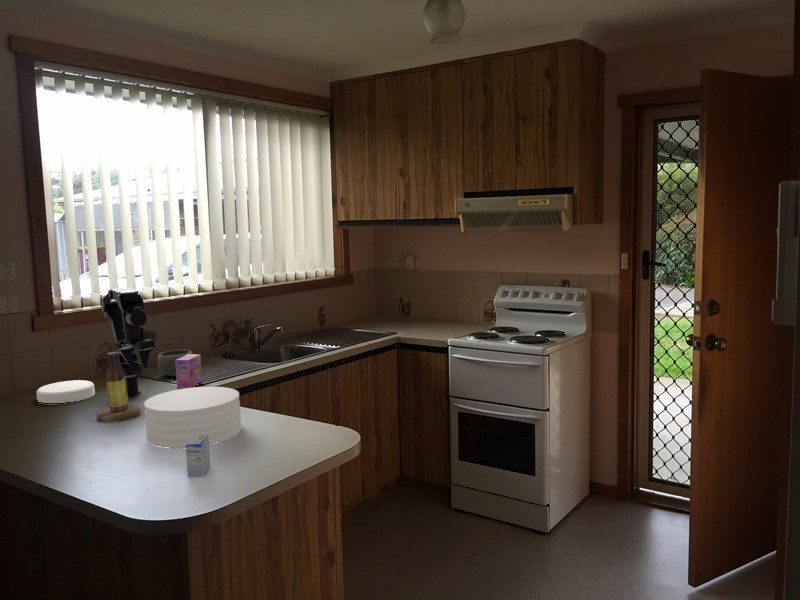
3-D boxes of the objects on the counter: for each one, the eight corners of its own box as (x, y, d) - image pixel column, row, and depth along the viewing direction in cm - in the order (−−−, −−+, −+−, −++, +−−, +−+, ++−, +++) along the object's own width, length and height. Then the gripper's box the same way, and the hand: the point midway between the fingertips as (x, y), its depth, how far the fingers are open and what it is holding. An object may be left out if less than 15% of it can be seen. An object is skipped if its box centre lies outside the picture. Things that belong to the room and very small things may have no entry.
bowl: (189, 378, 290) (187, 355, 289) (153, 380, 290) (151, 356, 289) (199, 370, 305) (198, 348, 304) (165, 371, 305) (164, 349, 304)
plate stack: (126, 444, 208) (123, 407, 207) (187, 417, 234) (184, 384, 232) (204, 453, 198) (201, 414, 196) (258, 424, 224) (256, 389, 222)
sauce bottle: (132, 409, 238) (127, 352, 236) (113, 413, 234) (108, 355, 232) (124, 406, 243) (119, 350, 241) (106, 410, 239) (100, 353, 236)
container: (58, 407, 254) (57, 395, 253) (25, 401, 264) (24, 389, 263) (106, 394, 271) (105, 382, 270) (73, 389, 281) (72, 377, 280)
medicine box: (193, 466, 187) (191, 435, 186) (210, 465, 188) (208, 434, 187) (187, 477, 179) (184, 444, 178) (205, 476, 180) (202, 443, 179)
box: (190, 389, 272) (188, 359, 271) (176, 389, 273) (174, 359, 272) (202, 382, 282) (200, 354, 281) (189, 382, 283) (187, 354, 282)
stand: (87, 419, 235) (87, 413, 235) (120, 408, 248) (120, 403, 248) (117, 423, 229) (117, 417, 229) (149, 412, 242) (149, 406, 242)
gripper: (166, 321, 254) (172, 363, 256) (138, 321, 266) (144, 362, 268) (138, 326, 246) (144, 370, 247) (111, 327, 257) (117, 368, 259)
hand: (138, 367), depth 255 cm, fingers open, 9 cm apart
